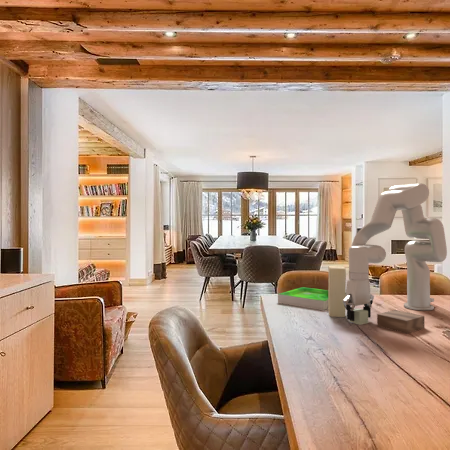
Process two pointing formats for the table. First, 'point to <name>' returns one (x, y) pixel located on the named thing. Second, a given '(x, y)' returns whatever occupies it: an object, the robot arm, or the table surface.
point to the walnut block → (400, 321)
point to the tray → (305, 298)
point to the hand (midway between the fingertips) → (358, 318)
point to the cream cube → (360, 316)
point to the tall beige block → (336, 290)
